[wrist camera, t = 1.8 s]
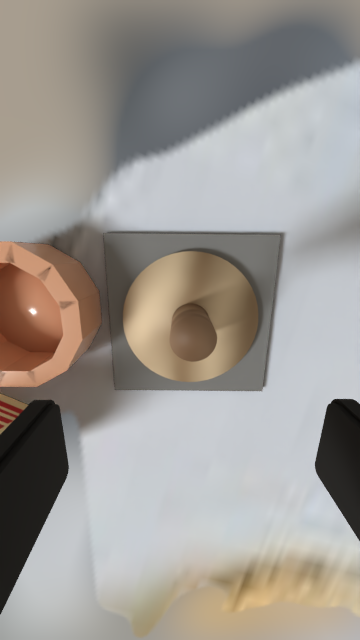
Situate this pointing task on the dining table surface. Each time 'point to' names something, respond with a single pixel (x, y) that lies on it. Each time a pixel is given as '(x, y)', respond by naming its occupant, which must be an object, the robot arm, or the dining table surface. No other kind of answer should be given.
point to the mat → (143, 249)
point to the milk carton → (9, 411)
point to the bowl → (43, 313)
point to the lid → (190, 316)
